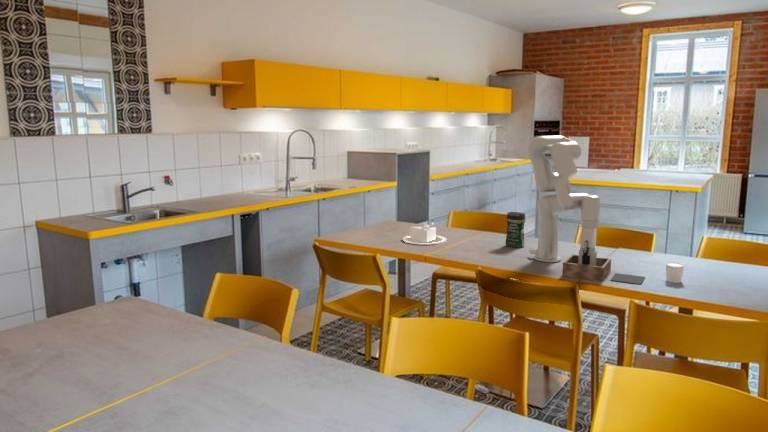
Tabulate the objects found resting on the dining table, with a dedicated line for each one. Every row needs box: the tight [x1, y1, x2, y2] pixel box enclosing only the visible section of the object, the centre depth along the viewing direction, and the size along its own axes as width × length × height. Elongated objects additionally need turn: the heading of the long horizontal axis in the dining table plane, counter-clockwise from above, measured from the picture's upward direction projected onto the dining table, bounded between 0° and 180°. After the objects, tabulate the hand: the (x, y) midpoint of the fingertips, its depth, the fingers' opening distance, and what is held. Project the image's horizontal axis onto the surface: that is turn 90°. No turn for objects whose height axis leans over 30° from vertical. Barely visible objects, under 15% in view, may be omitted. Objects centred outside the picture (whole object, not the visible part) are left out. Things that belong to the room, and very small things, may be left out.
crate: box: [561, 254, 612, 282], centre depth 252 cm, size 17×17×6 cm
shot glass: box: [665, 262, 685, 284], centre depth 240 cm, size 7×7×7 cm
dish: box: [401, 222, 447, 245], centre depth 321 cm, size 25×25×11 cm
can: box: [578, 247, 598, 266], centre depth 251 cm, size 8×8×12 cm
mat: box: [610, 272, 646, 286], centre depth 244 cm, size 12×12×1 cm
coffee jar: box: [505, 211, 526, 248], centre depth 305 cm, size 10×8×19 cm
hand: (588, 262), depth 251 cm, fingers open, 9 cm apart
